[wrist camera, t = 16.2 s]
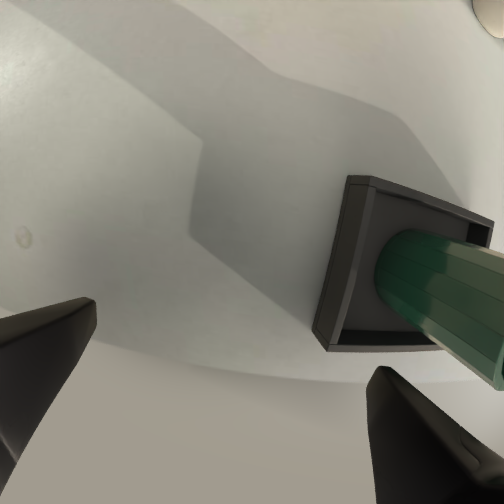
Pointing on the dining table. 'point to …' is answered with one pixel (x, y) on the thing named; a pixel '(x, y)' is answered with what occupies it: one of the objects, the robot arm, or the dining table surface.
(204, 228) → the dining table surface
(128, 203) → the dining table surface
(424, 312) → the tumbler
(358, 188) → the tray
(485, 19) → the cup
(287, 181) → the dining table surface
